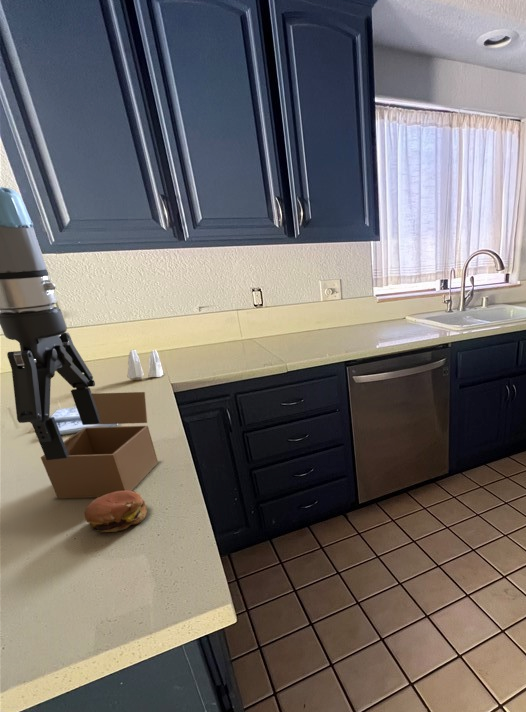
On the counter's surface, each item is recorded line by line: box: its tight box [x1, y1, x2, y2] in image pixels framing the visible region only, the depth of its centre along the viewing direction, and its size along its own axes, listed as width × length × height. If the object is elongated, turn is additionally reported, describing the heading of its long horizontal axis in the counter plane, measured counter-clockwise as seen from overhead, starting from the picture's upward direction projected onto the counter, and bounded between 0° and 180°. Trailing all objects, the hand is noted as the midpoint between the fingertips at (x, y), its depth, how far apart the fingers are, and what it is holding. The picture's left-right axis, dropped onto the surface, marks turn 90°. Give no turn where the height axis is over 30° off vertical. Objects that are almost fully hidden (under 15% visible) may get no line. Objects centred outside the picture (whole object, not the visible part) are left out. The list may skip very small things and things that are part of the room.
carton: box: [40, 425, 159, 499], centre depth 91 cm, size 14×14×10 cm
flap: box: [88, 391, 148, 425], centre depth 95 cm, size 14×7×1 cm
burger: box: [83, 490, 148, 533], centre depth 78 cm, size 10×9×5 cm
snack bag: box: [50, 406, 119, 436], centre depth 123 cm, size 19×20×2 cm
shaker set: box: [126, 349, 164, 381], centre depth 157 cm, size 12×4×11 cm, turn 123°
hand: (76, 439), depth 71 cm, fingers open, 13 cm apart
